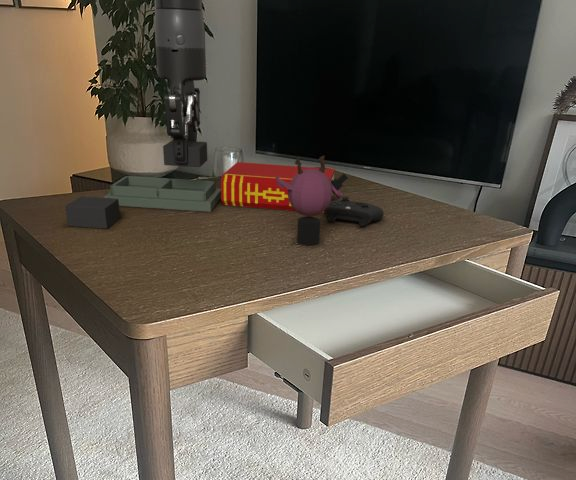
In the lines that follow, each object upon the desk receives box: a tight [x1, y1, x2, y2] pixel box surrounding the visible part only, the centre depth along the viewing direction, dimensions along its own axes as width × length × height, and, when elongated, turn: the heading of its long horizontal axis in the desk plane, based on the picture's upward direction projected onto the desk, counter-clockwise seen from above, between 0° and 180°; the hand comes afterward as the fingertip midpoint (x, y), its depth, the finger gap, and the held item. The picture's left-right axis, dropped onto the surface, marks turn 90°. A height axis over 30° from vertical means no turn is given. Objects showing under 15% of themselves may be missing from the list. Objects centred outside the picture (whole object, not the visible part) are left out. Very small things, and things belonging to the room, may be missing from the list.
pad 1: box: [64, 196, 121, 230], centre depth 91 cm, size 6×6×3 cm
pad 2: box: [162, 139, 208, 168], centre depth 100 cm, size 6×6×3 cm
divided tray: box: [103, 175, 221, 213], centre depth 104 cm, size 18×10×3 cm, turn 85°
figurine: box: [275, 155, 349, 246], centre depth 84 cm, size 8×8×12 cm
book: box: [220, 161, 336, 214], centre depth 106 cm, size 18×13×5 cm
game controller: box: [325, 196, 385, 228], centre depth 98 cm, size 10×5×6 cm
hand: (185, 158), depth 101 cm, fingers closed on pad 2, 6 cm apart
